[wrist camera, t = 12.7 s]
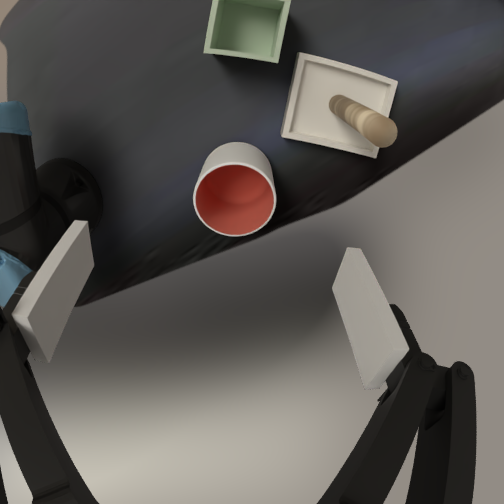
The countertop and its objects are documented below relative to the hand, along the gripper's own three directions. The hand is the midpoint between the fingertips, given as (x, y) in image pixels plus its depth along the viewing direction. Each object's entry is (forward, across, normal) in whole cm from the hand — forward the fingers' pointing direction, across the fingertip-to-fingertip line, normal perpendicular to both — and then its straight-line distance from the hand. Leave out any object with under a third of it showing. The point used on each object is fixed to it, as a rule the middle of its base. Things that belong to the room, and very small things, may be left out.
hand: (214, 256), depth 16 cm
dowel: (+30, +14, +5) cm, 34 cm away
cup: (+32, +2, -8) cm, 33 cm away
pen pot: (+32, +1, +13) cm, 35 cm away
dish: (+31, +14, +5) cm, 35 cm away
